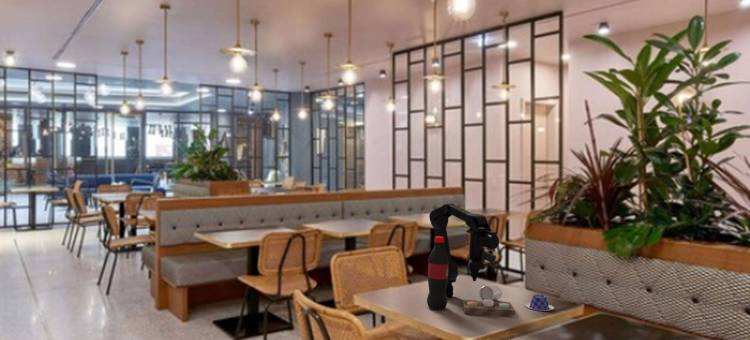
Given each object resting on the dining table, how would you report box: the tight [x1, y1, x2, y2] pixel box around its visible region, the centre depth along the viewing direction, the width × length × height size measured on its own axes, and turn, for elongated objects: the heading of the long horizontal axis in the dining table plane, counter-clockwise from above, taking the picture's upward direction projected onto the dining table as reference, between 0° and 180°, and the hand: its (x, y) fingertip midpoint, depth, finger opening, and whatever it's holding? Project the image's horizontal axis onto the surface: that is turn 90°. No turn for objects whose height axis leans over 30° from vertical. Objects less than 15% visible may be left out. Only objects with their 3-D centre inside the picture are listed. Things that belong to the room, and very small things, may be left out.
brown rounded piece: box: [467, 301, 478, 306], centre depth 221 cm, size 4×4×3 cm
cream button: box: [482, 299, 495, 307], centre depth 220 cm, size 4×4×3 cm
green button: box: [498, 303, 510, 308], centre depth 220 cm, size 4×4×3 cm
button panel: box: [461, 299, 516, 318], centre depth 221 cm, size 20×12×2 cm, turn 85°
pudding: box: [524, 294, 555, 312], centre depth 228 cm, size 12×12×5 cm
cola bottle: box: [426, 235, 449, 311], centre depth 222 cm, size 8×8×30 cm
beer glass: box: [478, 284, 503, 301], centre depth 232 cm, size 7×7×15 cm
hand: (474, 281), depth 226 cm, fingers closed
